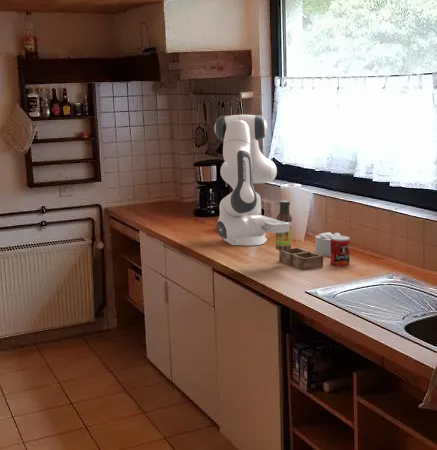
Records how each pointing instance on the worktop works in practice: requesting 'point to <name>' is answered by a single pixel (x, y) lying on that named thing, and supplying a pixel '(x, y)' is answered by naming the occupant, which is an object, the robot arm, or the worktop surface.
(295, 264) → the box
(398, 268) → the worktop surface
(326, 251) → the lumpy-topped squat cylinder
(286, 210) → the sauce bottle
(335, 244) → the canned food
